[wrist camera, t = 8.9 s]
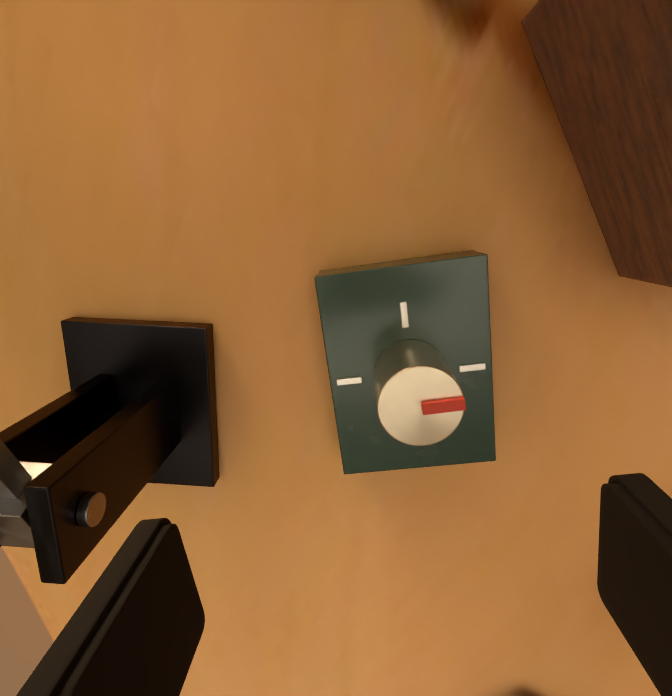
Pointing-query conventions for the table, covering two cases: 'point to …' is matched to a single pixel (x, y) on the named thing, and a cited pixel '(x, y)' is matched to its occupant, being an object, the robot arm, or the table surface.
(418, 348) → the knob
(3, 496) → the press lever
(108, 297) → the table surface
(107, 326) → the black lever stand
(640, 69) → the tissue box cover
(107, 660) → the robot arm
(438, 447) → the dial panel
